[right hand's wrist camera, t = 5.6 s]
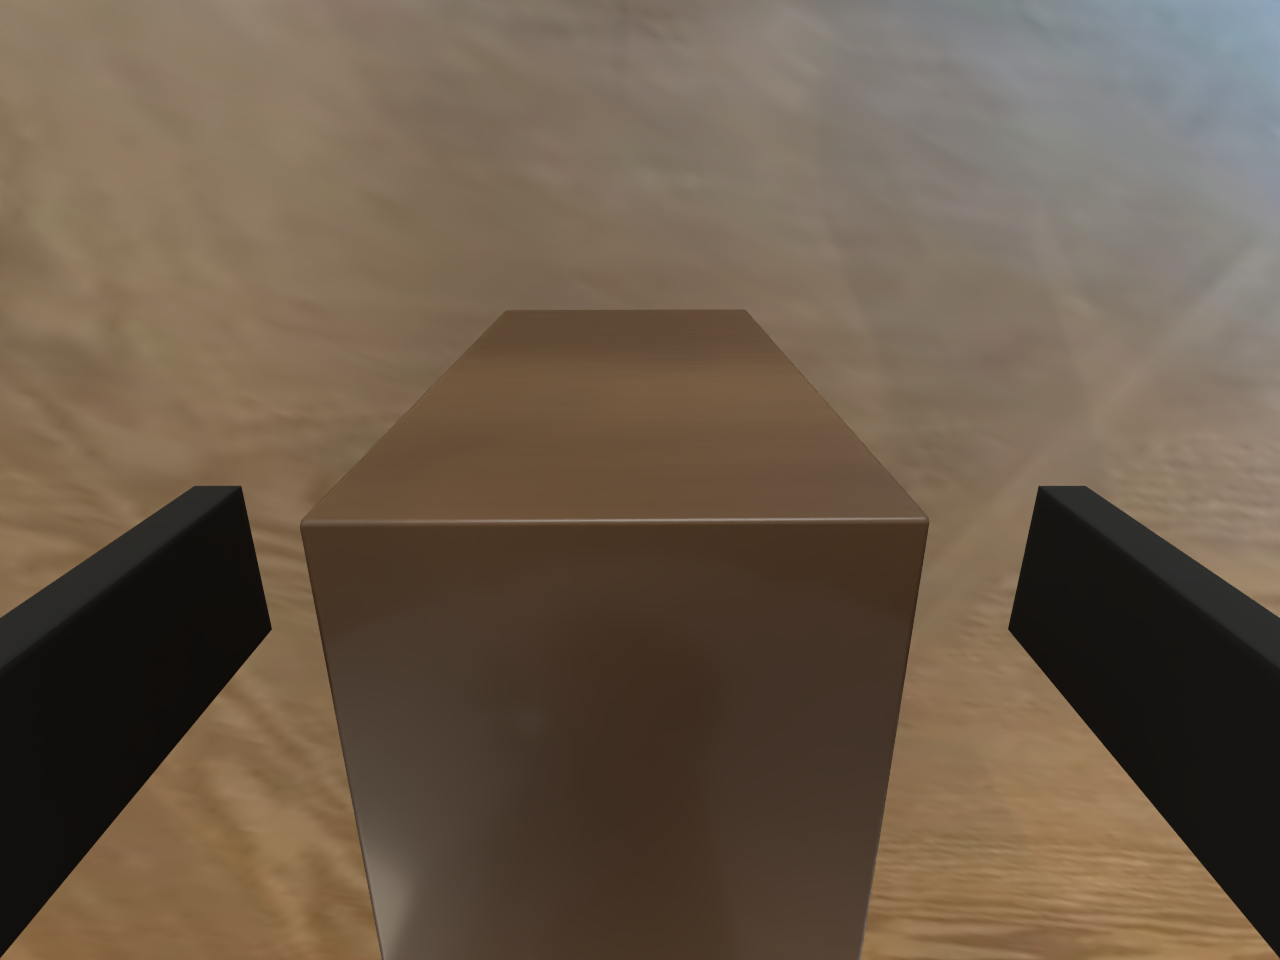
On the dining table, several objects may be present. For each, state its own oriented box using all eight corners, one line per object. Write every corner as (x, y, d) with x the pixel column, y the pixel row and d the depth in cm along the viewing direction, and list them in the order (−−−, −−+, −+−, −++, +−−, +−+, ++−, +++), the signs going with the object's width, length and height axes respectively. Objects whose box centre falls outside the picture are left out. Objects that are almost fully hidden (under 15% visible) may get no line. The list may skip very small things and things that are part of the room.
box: (504, 309, 18) (295, 521, 7) (746, 309, 18) (932, 518, 7) (554, 1036, 28) (502, 1604, 17) (709, 1034, 28) (761, 1599, 17)
